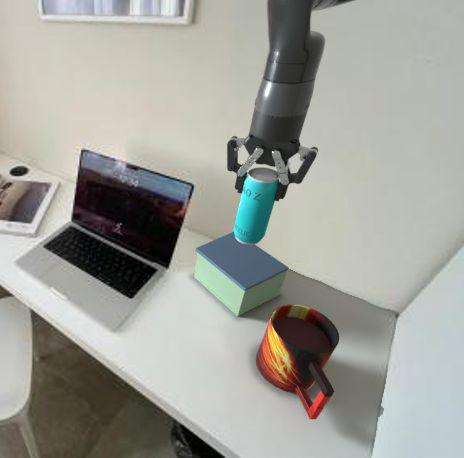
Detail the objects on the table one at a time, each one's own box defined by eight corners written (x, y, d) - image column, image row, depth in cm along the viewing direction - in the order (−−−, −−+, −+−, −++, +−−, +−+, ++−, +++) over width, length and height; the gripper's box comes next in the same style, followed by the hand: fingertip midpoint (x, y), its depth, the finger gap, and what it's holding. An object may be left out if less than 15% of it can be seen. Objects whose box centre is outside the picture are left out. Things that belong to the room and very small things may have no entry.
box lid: (195, 250, 82) (195, 247, 81) (234, 233, 85) (235, 230, 84) (244, 291, 71) (245, 288, 70) (287, 270, 74) (288, 267, 74)
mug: (309, 425, 58) (335, 387, 51) (243, 357, 68) (257, 317, 61) (351, 398, 60) (382, 358, 53) (282, 337, 71) (299, 296, 64)
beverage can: (244, 226, 77) (259, 163, 67) (269, 239, 72) (289, 174, 63) (226, 237, 74) (239, 173, 65) (251, 251, 70) (268, 185, 61)
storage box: (193, 276, 86) (197, 252, 81) (231, 259, 89) (237, 235, 84) (237, 316, 76) (244, 291, 71) (278, 295, 79) (287, 270, 74)
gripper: (338, 102, 55) (305, 194, 66) (239, 94, 63) (224, 178, 73) (332, 120, 51) (298, 215, 61) (227, 109, 58) (212, 196, 69)
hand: (258, 194), depth 67 cm, fingers closed on beverage can, 5 cm apart
